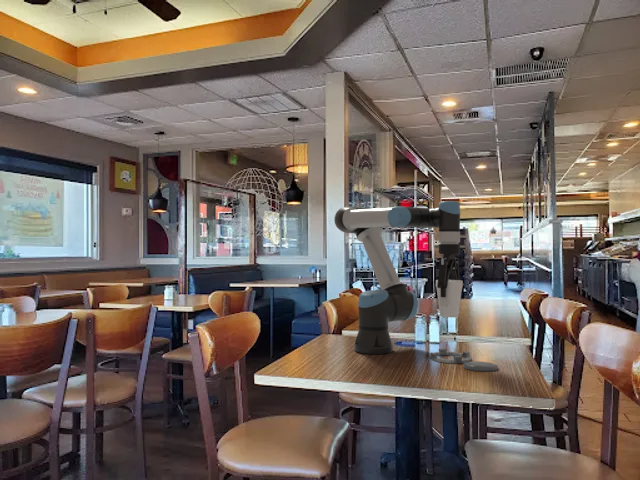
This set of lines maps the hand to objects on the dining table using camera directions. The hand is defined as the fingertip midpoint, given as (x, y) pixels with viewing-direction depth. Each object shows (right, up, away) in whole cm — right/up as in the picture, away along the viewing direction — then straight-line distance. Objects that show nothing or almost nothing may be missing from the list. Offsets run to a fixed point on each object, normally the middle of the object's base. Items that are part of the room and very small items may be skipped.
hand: (449, 304), depth 178 cm
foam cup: (0, -4, 0) cm, 4 cm away
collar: (0, -20, -1) cm, 20 cm away
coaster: (+7, -19, -14) cm, 25 cm away
